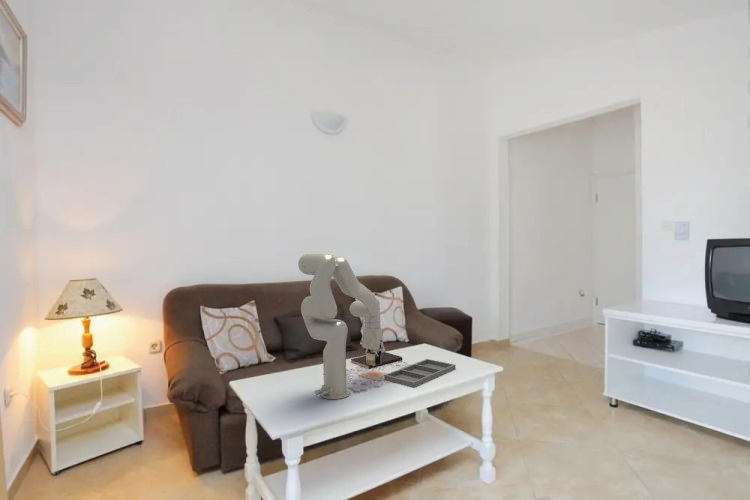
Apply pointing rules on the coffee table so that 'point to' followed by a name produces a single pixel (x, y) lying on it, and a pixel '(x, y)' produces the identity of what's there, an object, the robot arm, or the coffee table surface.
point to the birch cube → (371, 358)
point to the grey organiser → (419, 372)
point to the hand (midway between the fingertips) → (373, 362)
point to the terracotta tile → (372, 375)
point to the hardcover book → (385, 359)
